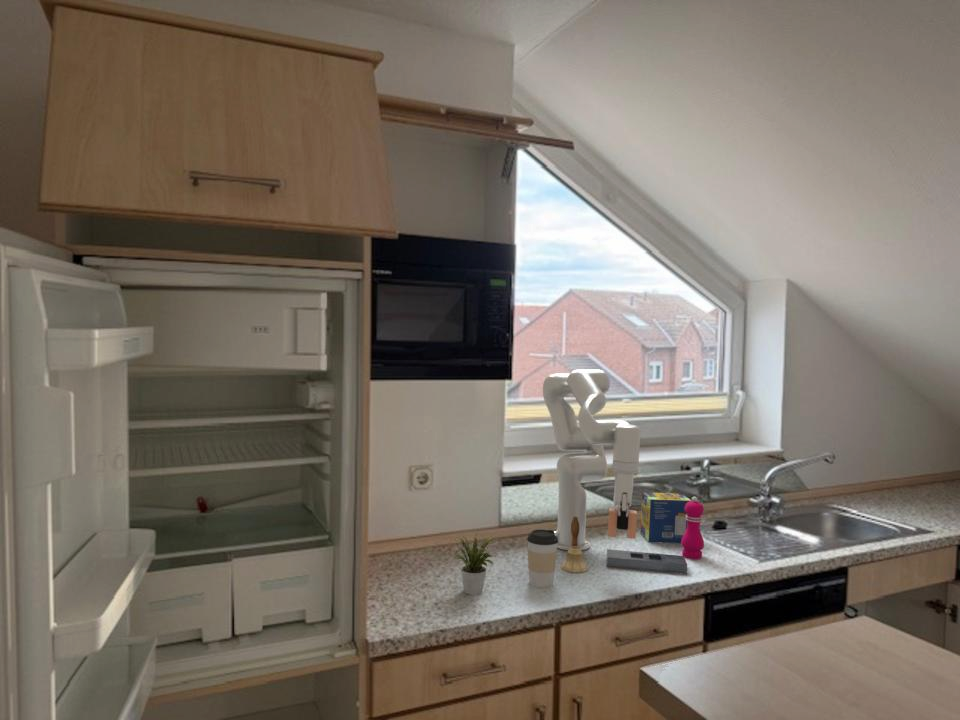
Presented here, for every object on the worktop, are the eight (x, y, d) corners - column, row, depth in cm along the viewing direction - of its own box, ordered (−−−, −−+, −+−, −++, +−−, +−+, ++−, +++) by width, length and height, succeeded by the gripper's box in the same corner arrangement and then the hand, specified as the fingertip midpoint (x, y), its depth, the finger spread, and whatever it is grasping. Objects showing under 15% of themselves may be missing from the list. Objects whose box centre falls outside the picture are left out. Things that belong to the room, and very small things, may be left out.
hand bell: (563, 573, 197) (565, 520, 197) (558, 563, 206) (560, 513, 205) (590, 573, 198) (592, 521, 197) (584, 563, 206) (586, 513, 206)
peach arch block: (607, 536, 194) (609, 511, 193) (607, 532, 197) (609, 508, 196) (635, 538, 192) (637, 513, 192) (634, 535, 195) (636, 510, 195)
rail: (607, 566, 204) (607, 557, 204) (606, 558, 212) (607, 549, 212) (686, 574, 200) (687, 564, 200) (683, 565, 207) (683, 556, 207)
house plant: (441, 601, 173) (443, 540, 173) (444, 581, 187) (445, 525, 186) (495, 602, 173) (497, 542, 173) (493, 583, 187) (495, 526, 187)
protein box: (639, 533, 241) (641, 492, 240) (680, 534, 241) (682, 493, 241) (647, 542, 230) (649, 499, 230) (691, 543, 231) (692, 500, 230)
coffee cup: (534, 590, 183) (536, 537, 182) (520, 579, 191) (521, 528, 190) (562, 586, 186) (564, 534, 186) (547, 575, 195) (548, 525, 194)
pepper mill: (704, 560, 212) (707, 500, 212) (681, 558, 214) (684, 498, 213) (702, 553, 219) (704, 495, 219) (679, 551, 221) (682, 493, 220)
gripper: (611, 459, 202) (608, 517, 203) (613, 471, 186) (609, 534, 187) (636, 461, 201) (633, 520, 202) (640, 473, 185) (636, 537, 186)
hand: (621, 526), depth 194 cm, fingers closed on peach arch block, 3 cm apart
